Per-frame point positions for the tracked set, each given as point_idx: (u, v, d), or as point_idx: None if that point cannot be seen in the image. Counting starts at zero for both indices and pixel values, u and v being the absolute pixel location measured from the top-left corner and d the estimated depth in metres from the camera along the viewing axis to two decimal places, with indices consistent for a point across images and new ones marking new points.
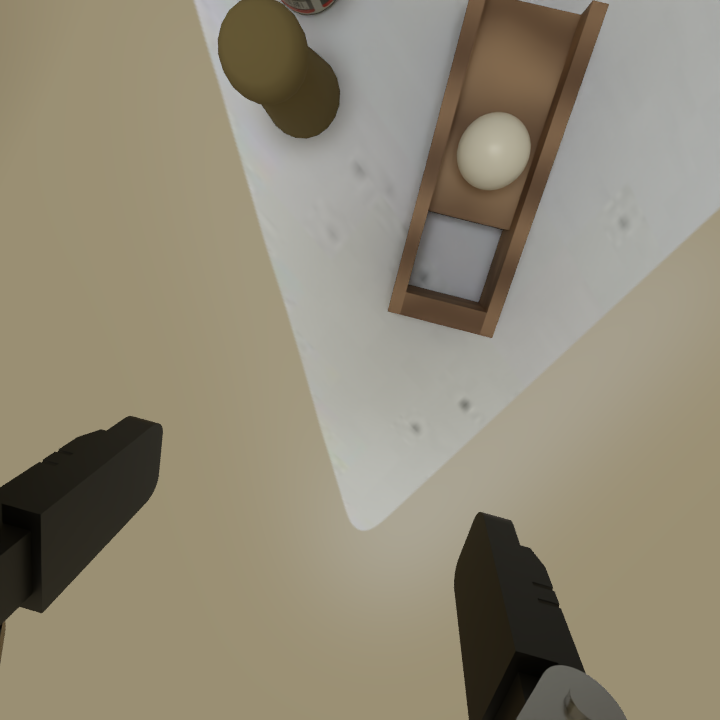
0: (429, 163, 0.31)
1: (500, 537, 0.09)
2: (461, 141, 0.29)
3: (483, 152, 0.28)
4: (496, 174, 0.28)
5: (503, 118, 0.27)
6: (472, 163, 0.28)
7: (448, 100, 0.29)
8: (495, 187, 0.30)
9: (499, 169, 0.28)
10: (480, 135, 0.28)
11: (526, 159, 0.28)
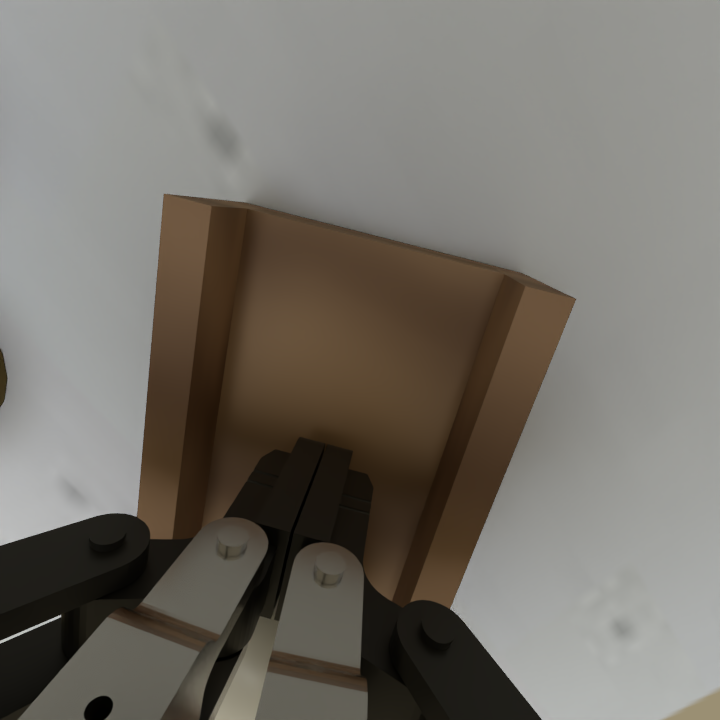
0: None
1: (333, 460, 0.10)
2: None
3: None
4: None
5: (256, 632, 0.09)
6: None
7: (154, 487, 0.11)
8: None
9: None
10: None
11: None
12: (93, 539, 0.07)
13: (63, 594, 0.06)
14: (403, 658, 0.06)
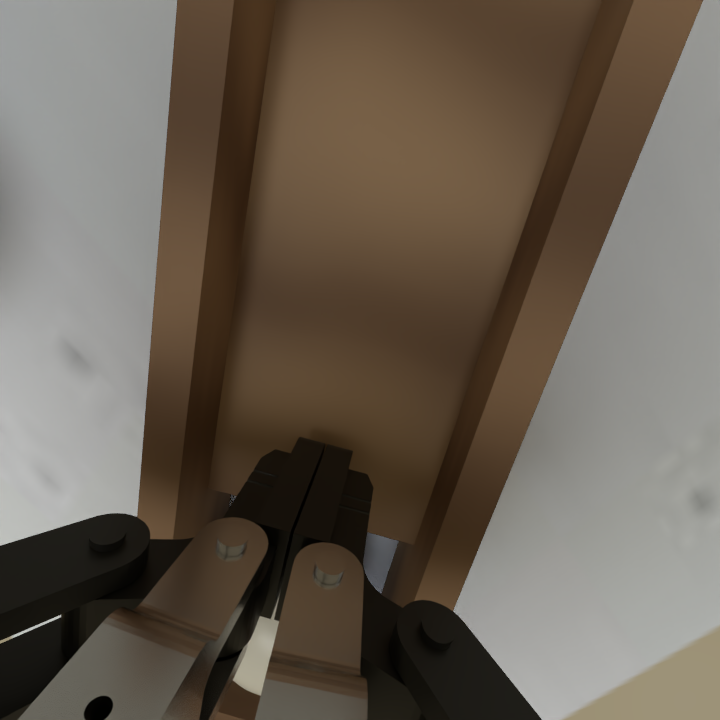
0: (153, 425, 0.10)
1: (333, 460, 0.10)
2: None
3: None
4: None
5: None
6: None
7: (175, 259, 0.09)
8: None
9: None
10: None
11: None
12: (93, 539, 0.07)
13: (63, 594, 0.06)
14: (403, 658, 0.06)
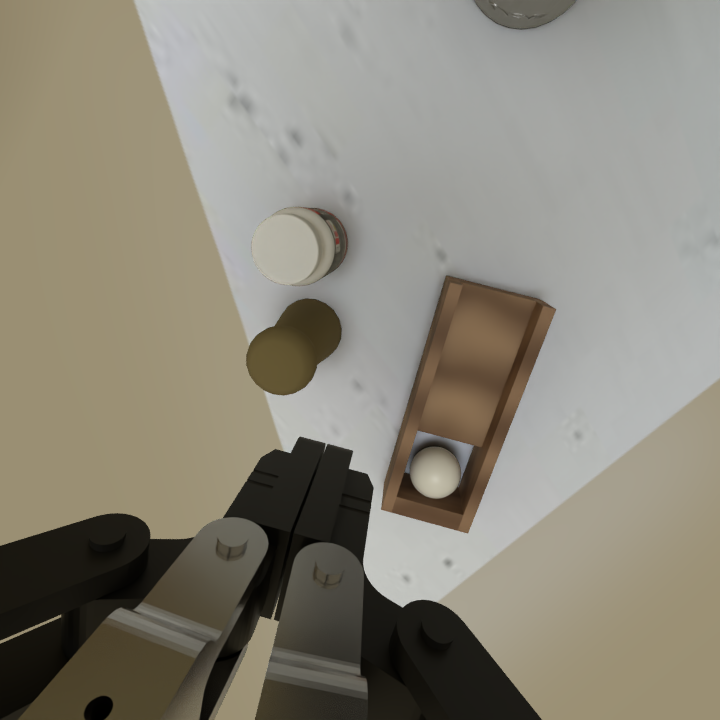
0: (414, 407, 0.37)
1: (333, 460, 0.10)
2: None
3: None
4: None
5: None
6: None
7: (429, 366, 0.36)
8: None
9: None
10: None
11: None
12: (93, 539, 0.07)
13: (63, 594, 0.06)
14: (403, 658, 0.06)
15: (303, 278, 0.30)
